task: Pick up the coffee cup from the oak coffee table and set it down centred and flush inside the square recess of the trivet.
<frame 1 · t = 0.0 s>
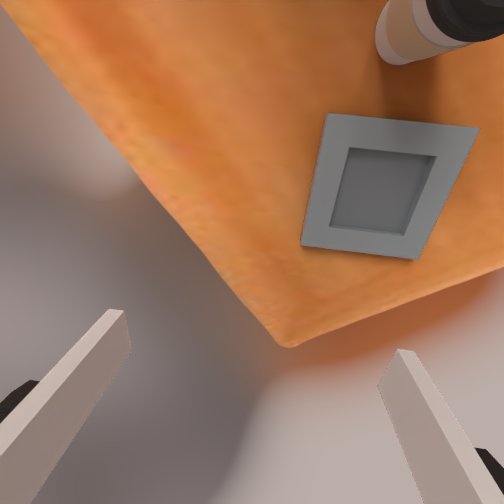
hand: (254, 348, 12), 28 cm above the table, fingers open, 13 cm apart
trivet: (373, 191, 35), on the table
coffee cup: (406, 27, 27), on the table
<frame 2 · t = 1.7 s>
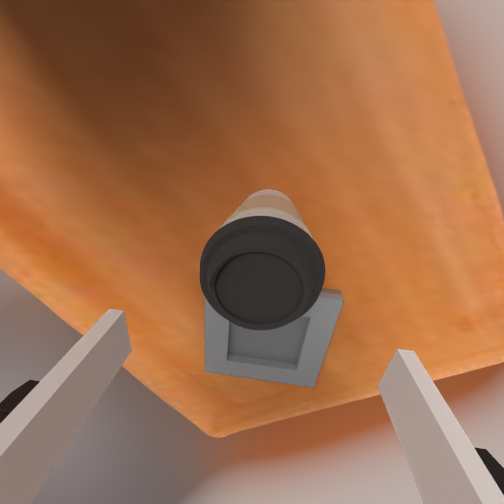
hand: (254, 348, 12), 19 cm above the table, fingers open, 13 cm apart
trivet: (266, 330, 37), on the table
coffee cup: (267, 217, 29), on the table
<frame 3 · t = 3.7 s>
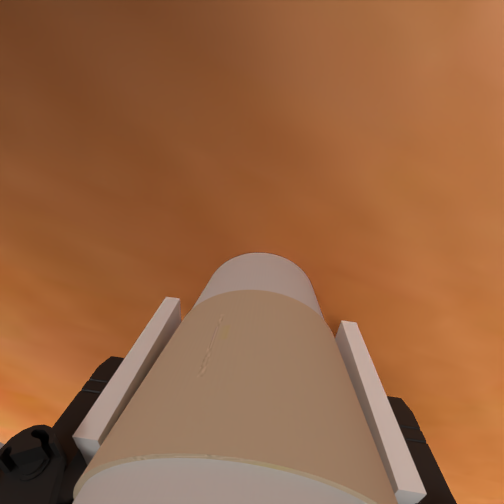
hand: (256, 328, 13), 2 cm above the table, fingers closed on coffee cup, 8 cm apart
coffee cup: (259, 298, 15), on the table, touching gripper
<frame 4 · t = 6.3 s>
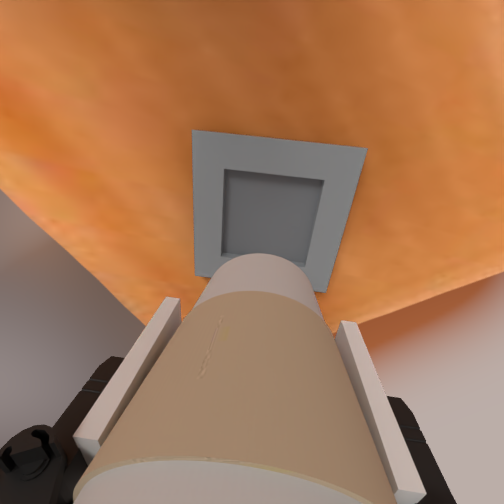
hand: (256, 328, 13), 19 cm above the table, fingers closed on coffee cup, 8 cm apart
trivet: (268, 216, 30), on the table
coffee cup: (259, 299, 15), point 17 cm above the table, touching gripper
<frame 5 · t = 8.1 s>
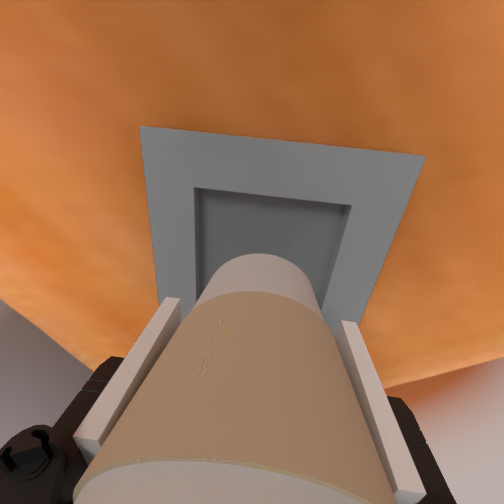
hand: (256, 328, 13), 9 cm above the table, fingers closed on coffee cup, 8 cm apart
trivet: (264, 252, 21), on the table
coffee cup: (259, 299, 15), point 6 cm above the table, touching gripper
when the fingers open (5 cm above the table, at t = 9.4 s): coffee cup drops 2 cm, resting on trivet.
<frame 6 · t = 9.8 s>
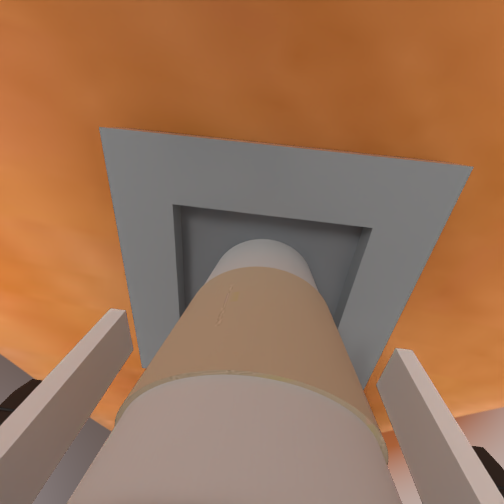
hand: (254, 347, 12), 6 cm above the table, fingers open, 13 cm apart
trivet: (261, 279, 17), on the table
coffee cup: (261, 282, 17), point 1 cm above the table, touching trivet
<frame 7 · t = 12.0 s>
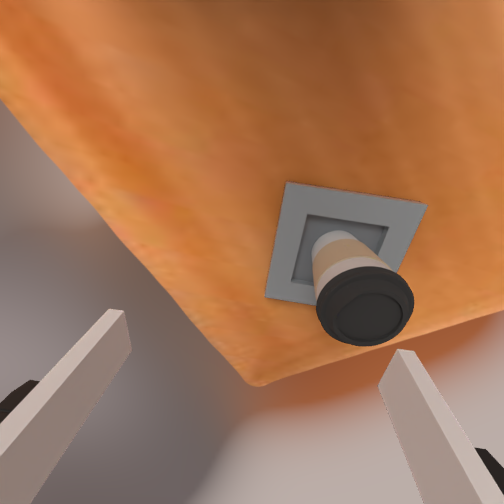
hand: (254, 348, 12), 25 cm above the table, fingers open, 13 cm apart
trivet: (333, 250, 36), on the table
coffee cup: (334, 251, 35), point 1 cm above the table, touching trivet
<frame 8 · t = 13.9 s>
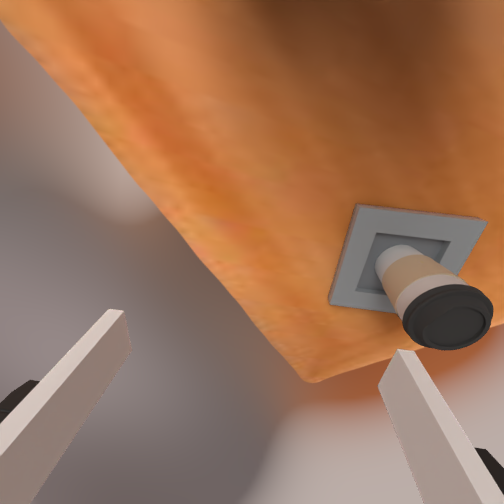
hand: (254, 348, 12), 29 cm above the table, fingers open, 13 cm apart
trivet: (394, 262, 40), on the table
coffee cup: (396, 263, 39), point 1 cm above the table, touching trivet
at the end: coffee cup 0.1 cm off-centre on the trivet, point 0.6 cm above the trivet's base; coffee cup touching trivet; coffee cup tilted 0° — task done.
